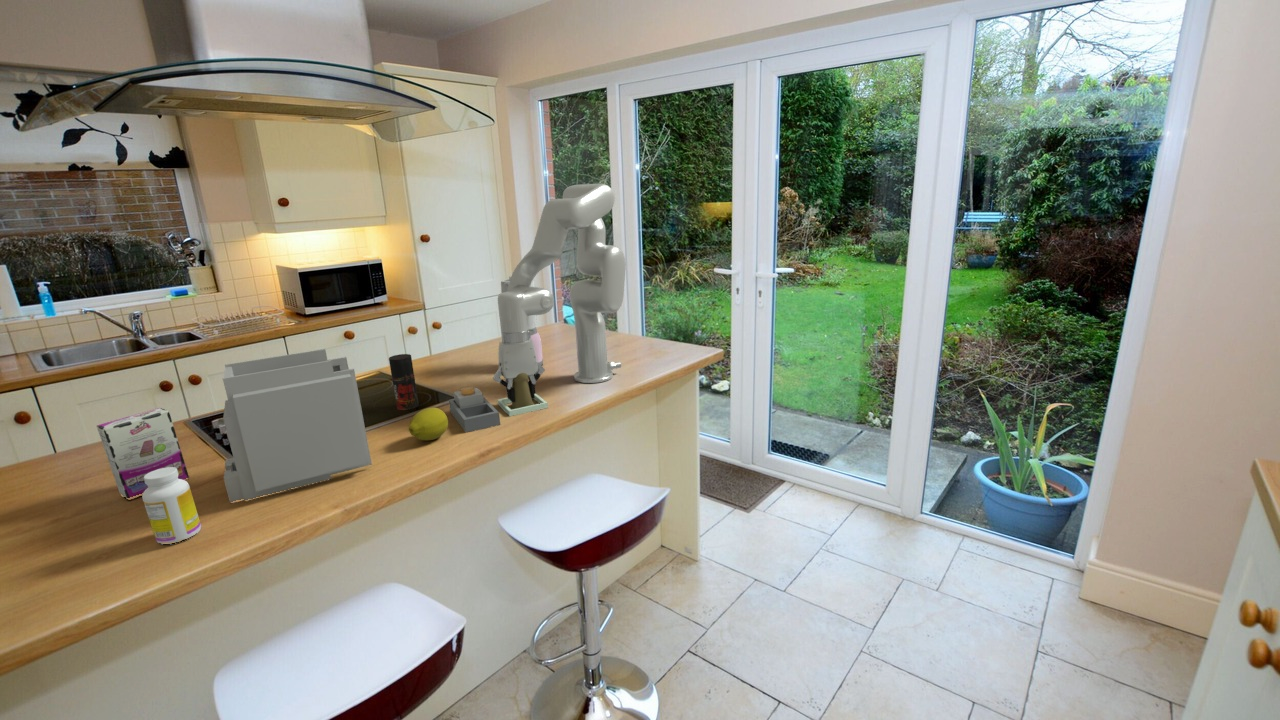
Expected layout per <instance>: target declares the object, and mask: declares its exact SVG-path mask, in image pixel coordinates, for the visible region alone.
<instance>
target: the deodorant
mask: <svg viewBox="0 0 1280 720" xmlns="http://www.w3.org/2000/svg"><path fill="white" fill-rule="evenodd" d="M388 362H389V368H390V374H391V380H392V386H393V392H394V393H393V394H394V398H395V403H396V410H400V411H408V409H409V410H413V409H415V407H416V408H417V407H419V397H418V392H417V385H416V379H415V372H414V366H413V360H412V354H409V353H402V354H395V355H391V356H389V358H388ZM412 408H413V409H412Z"/></svg>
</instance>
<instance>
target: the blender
mask: <svg viewBox="0 0 1280 720" xmlns="http://www.w3.org/2000/svg"><path fill="white" fill-rule="evenodd" d="M511 276H512V275H509V276H508V278H505V279H502V280H501V282H500V286H501V287H500V291H501V292H500V293H503V292H507V291H508V286H509V283H510V279H511ZM530 287H536V285H535V280H534V279H533V281H532V283H531V285H530ZM537 316H538V315H530V316H528V326H529V329H530V330H534V335H531V336H530V339H532V341H533V345H534V348H535V353H536V358H537V362H538V363H539V364H540V365H541V366H542V367H544V358H543V347H542V340H541V336H540V335H541V334H539V332H538V329H537Z"/></svg>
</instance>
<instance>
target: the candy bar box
mask: <svg viewBox="0 0 1280 720" xmlns="http://www.w3.org/2000/svg"><path fill="white" fill-rule="evenodd" d="M96 429H97V432H98V435H99V438H100V440H101V444H102V446H103V449H104V453H105V455H106V457H107V460H108V463H109V466H110V469H111V472H112V475H113V478H114V481H115V483H116V487H117V489H118V492H119V495H120V494H122V495H123V496H125V497H126V498H130V497H133V496H136V495H139V494H142V493H143V492H144V491H145V490H146V489H147V488H148V486H147V485H146V484H145V481H144V476H145V475H146V474H148V473H150V472H152V471H154V470H157V469H161V468H167V467H175V468H177V471H178V474H179V475H178V479H182V480H184V479H186V478H189V479H190V476H189V473H188V469H187V466H186V462H185V460H184V456H183V453H182V450H181V447H180V444H179V440H178V436H177V433H176V430H175V426H174V423H173V420H172V417H171V412H170V411H169V410H167V409H164V408H162V407H158V408H155V409H151V410H147V411H144V412H141V413H136V414H131V415H130V416H129V415H128V416H126V417H121V418H119V419H115V420H111V421H109V422H108V421H107V422H103V423H101V424H98V425H96Z"/></svg>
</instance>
